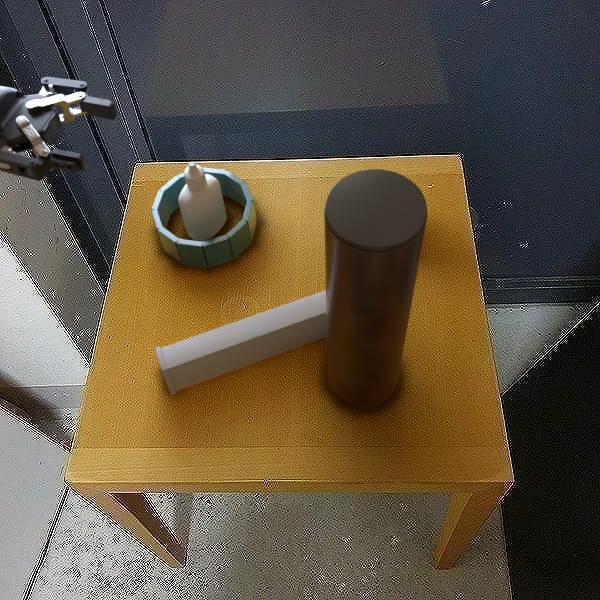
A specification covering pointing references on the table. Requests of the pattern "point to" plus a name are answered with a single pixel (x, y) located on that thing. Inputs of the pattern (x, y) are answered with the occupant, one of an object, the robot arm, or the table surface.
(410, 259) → the stand
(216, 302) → the table surface
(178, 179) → the teal segmented ring
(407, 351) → the table surface
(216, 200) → the eye dropper bottle
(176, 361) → the tube
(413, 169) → the table surface
